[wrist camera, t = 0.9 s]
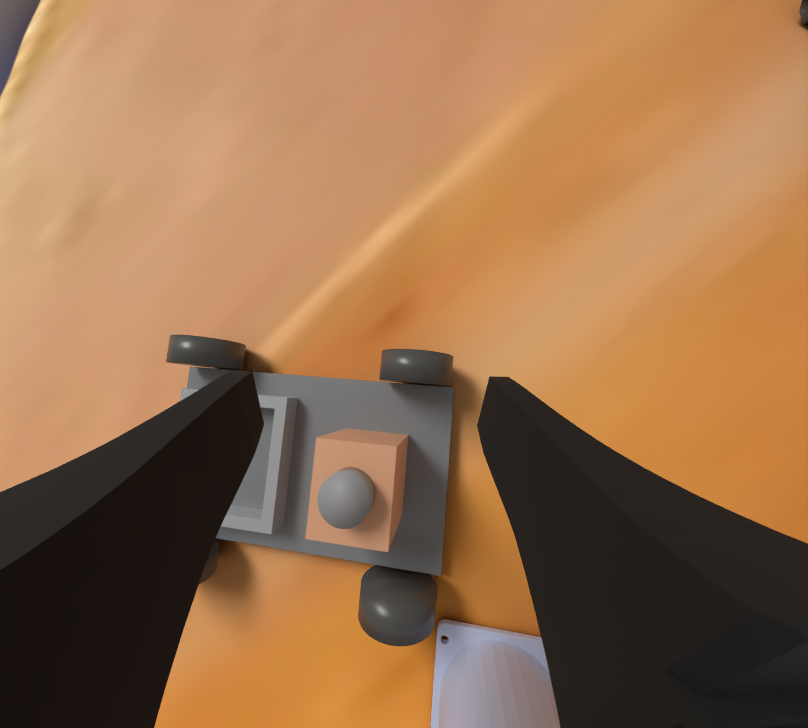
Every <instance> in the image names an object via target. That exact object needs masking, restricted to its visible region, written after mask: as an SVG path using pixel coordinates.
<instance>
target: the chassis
mask: <svg viewBox="0 0 808 728" xmlns="http://www.w3.org/2000/svg"><path fill="white" fill-rule="evenodd" d="M245 348H246V345H244V344H241V343H237V342H232V341H227V340H221V339H215V338H208V337H200V336H190V335H170V340H169V346H168V353H167V359H166V362H168V363H175V364H184V365H193V366H203V367H213V368H224V369H213V368H200V367H190V371H189V378H188V385H187V388H182V392H181V398H180V401H181V400H183V399H185V398H186V397H188V396H189V395H191V394H193V393H194V392H196V391H198V390H199V389H201V388H202V387H204V386H206V385H207V384H209V383H211V382H212V381H214V380H216V379H217V378H219V377H221V376H223V375H224V374H226V373H228V372H230V371H238V370H243V363H244V355H245ZM452 368H453V356H451V355H449V354H445V353H440V352H434V351H425V350H413V349H388V350H383V351H382V358H381V369H380V380H385V381H393V382H403V383H414V384H427V385H445V386H450V385H451V383H452ZM225 369H238V370H225ZM249 372H250V371H249ZM253 376H254V381H255V385H256V390H257V394H258V398H259V403H260V407H261V412H262V416H263V421H264V427H263V430H262V433H261V437H260V440H259V443H258V446H257V449H256V452H255V455H254V457H253V459H252V461H251V464H250V466H249V468H248V470H247V472H246V474H245V476H244V479H243V481H242V483H241V485H240V487H239V489H238V491H237V493H236V495H235V497H234V500H233V502H232V504H231V506H230V508H229V510H228V512H227V514H226V516H225V518H224V520H223V523H222V525H221V527H220V529H219V531H218V534H217V536H216V538H215V541H214V543H213V546H212V548H211V551H210V554H209V557H208V559H207V562H206V565H205V568H204V570H203V573H202V576H201V579H200V581H199V584H200V583H202V582H204V581H205V580H207V579H208V578H209V577H210V576H211V575H212V574H213V573H214V572H215V570H216V567H217V560H218V553H219V545H220V539H224V540H230V541H236V542H242V543H247V544H253V545H259V546H265V547H271V548H277V549H283V550H289V551H295V552H301V553H307V554H313V555H319V556H325V557H331V558H337V559H343V560H349V561H355V562H361V563H367V564H373V565H376V566H373V567H372V568H370V569H369V570H367V571H366V572H365V574H364V575H363V577H362V580H361V590H360V601H359V612H358V619H359V623H360V625H361V627H362V628H363V630H364V631H365V632H366V633H367V634H368V635H369V636H370V637H372V638H373V639H375V640H377V641H379V642H381V643H384V644H387V645H392V646H408V645H413V644H416V643H419V642H421V641H423V640H424V639H426V638H427V637H428V636H429V635H430V634H431V632H432V630H433V628H434V625H435V614H436V600H437V584H436V582H435V580H434V578H433V577H432V576H431V575H430V574H433V575H439V576H441V570H442V555H443V541H444V526H445V511H446V497H447V482H448V467H449V453H450V438H451V423H452V409H453V394H454V388H451V387H439V386H426V385H414V384H401V383H389V382H376V381H363V380H351V379H338V378H326V377H313V376H301V375H288V374H275V373H263V372H253ZM345 428H349V429H359V430H369V431H378V432H388V433H398V434H407V435H409V436H408V449H407V461H406V474H405V486H404V498H403V511H402V516H401V519H400V522H399V524H398V527H397V530H396V532H395V535H394V538H393V540H392V543H391V546H390V548H389V551H388V552H383V551H377V550H371V549H365V548H358V547H352V546H346V545H340V544H334V543H327V542H321V541H315V540H309V539H305V537H306V528H307V518H308V509H309V500H310V491H311V481H312V472H313V463H314V453H315V444H316V438H317V437H320V436H323V435H326V434H329V433H333V432H336V431H339V430H342V429H345ZM199 584H198V585H199Z"/></svg>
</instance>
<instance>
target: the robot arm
mask: <svg viewBox="0 0 808 728" xmlns="http://www.w3.org/2000/svg"><path fill="white" fill-rule="evenodd" d="M263 427H264V421H263V416H262V412H261V407H260V403H259V398H258V394H257V390H256V385H255V381H254V376H253V372H249V371H230V372H228V373H226V374H224V375H223V376H221V377H219V378H217V379H216V380H214V381H212V382H211V383H209V384H207V385H206V386H204V387H202V388H201V389H199V390H198V391H196V392H194V393H193V394H191V395H189V396H188V397H186V398H185V399H183V400H181V401H180V402H178V403H176V404H175V405H173V406H171V407H170V408H168V409H167V410H165V411H163V412H161V413H160V414H158V415H156V416H154V417H153V418H151V419H149V420H147V421H146V422H144V423H142V424H140V425H139V426H137V427H135V428H133V429H131V430H130V431H128V432H126V433H124V434H123V435H121V436H119V437H117V438H115V439H113V440H112V441H110V442H108V443H106V444H104V445H102V446H100V447H98V448H96V449H94V450H92V451H90V452H88V453H86V454H84V455H82V456H80V457H78V458H76V459H74V460H72V461H69V462H67V463H65V464H63V465H61V466H59V467H57V468H55V469H53V470H50V471H48V472H46V473H44V474H42V475H39V476H37V477H35V478H32V479H30V480H28V481H25V482H23V483H21V484H18V485H16V486H14V487H11V488H9V489H7V490H4V491H2V492H0V728H154V726H155V722H156V719H157V715H158V711H159V708H160V704H161V701H162V697H163V694H164V690H165V687H166V683H167V680H168V677H169V674H170V671H171V667H172V664H173V661H174V658H175V654H176V651H177V648H178V645H179V642H180V638H181V635H182V632H183V629H184V626H185V623H186V620H187V617H188V614H189V611H190V608H191V605H192V602H193V599H194V596H195V593H196V590H197V587H198V584H199V581H200V579H201V576H202V573H203V570H204V568H205V565H206V562H207V559H208V557H209V554H210V551H211V548H212V546H213V543H214V541H215V538H216V536H217V534H218V531H219V529H220V527H221V525H222V523H223V520H224V518H225V516H226V514H227V512H228V510H229V508H230V506H231V504H232V502H233V500H234V497H235V495H236V493H237V491H238V489H239V487H240V485H241V483H242V481H243V479H244V476H245V474H246V472H247V470H248V468H249V466H250V464H251V461H252V459H253V457H254V455H255V452H256V449H257V446H258V443H259V440H260V437H261V433H262V430H263ZM477 427H478V431H479V436H480V440H481V444H482V448H483V452H484V455H485V458H486V461H487V463H488V466H489V469H490V471H491V474H492V477H493V479H494V482H495V484H496V487H497V489H498V492H499V495H500V497H501V500H502V502H503V505H504V507H505V510H506V513H507V515H508V518H509V520H510V523H511V526H512V529H513V532H514V535H515V538H516V541H517V545H518V549H519V552H520V556H521V559H522V563H523V566H524V570H525V574H526V578H527V581H528V585H529V589H530V593H531V597H532V601H533V605H534V609H535V612H536V617H537V621H538V625H539V630H540V634H541V637H538V636H532V635H527V634H522V633H516V632H511V631H506V630H500V629H495V628H490V627H484V626H479V625H474V624H468V623H463V622H458V621H452V620H447V619H442V620H440V621H439V623H438V626H437V640H436V654H435V669H434V683H433V698H432V713H431V727H430V728H808V544H807V543H805V542H802V541H800V540H797V539H795V538H792V537H790V536H787V535H785V534H782V533H780V532H777V531H775V530H773V529H770V528H768V527H766V526H763V525H761V524H759V523H757V522H754V521H752V520H750V519H747V518H745V517H743V516H741V515H738V514H736V513H734V512H732V511H729V510H727V509H725V508H723V507H721V506H719V505H716V504H714V503H712V502H710V501H708V500H706V499H704V498H702V497H699V496H697V495H695V494H693V493H691V492H689V491H687V490H685V489H684V488H682V487H680V486H678V485H676V484H674V483H672V482H670V481H668V480H666V479H664V478H662V477H660V476H658V475H656V474H654V473H653V472H651V471H649V470H647V469H645V468H643V467H642V466H640V465H638V464H636V463H635V462H633V461H631V460H629V459H628V458H626V457H624V456H623V455H621V454H619V453H617V452H616V451H614V450H612V449H611V448H609V447H608V446H606V445H604V444H603V443H601V442H600V441H598V440H597V439H595V438H594V437H592V436H591V435H589V434H588V433H586V432H584V431H583V430H581V429H580V428H578V427H577V426H576V425H574V424H573V423H571V422H570V421H568V420H567V419H566V418H564V417H563V416H561V415H560V414H559V413H557V412H556V411H555V410H553V409H552V408H551V407H549V406H548V405H546V404H545V403H544V402H542V401H541V400H540V399H538V398H537V397H536V396H534V395H533V394H532V393H530V392H529V391H528V390H526V389H525V388H524V387H522V386H521V385H520V384H518V383H517V382H515V381H514V380H512V379H511V378H509V377H489V381H488V385H487V389H486V393H485V397H484V401H483V405H482V409H481V413H480V417H479V421H478V425H477ZM444 635H445V636H447V637H448V639H446V640H444V639H442V638H441V637H442V636H444Z"/></svg>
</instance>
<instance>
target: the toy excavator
mask: <svg viewBox="0 0 808 728" xmlns="http://www.w3.org/2000/svg"><path fill="white" fill-rule="evenodd" d="M800 15H801V18H802V23H804V24H805V23H808V0H802V3H801V7H800Z"/></svg>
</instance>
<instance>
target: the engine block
mask: <svg viewBox="0 0 808 728" xmlns="http://www.w3.org/2000/svg"><path fill="white" fill-rule="evenodd" d="M408 436H409V435H407V434H398V433H388V432H378V431H369V430H359V429H349V428H345V429H342V430H339V431H336V432H333V433H329V434H326V435H323V436H320V437H317V438H316V444H315V453H314V463H313V472H312V481H311V491H310V500H309V509H308V518H307V528H306V537H305V539H309V540H315V541H321V542H327V543H334V544H340V545H346V546H352V547H358V548H365V549H371V550H377V551H383V552H388V551H389V548H390V546H391V543H392V540H393V538H394V535H395V532H396V530H397V527H398V524H399V522H400V519H401V516H402V511H403V498H404V486H405V474H406V461H407V449H408Z"/></svg>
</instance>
